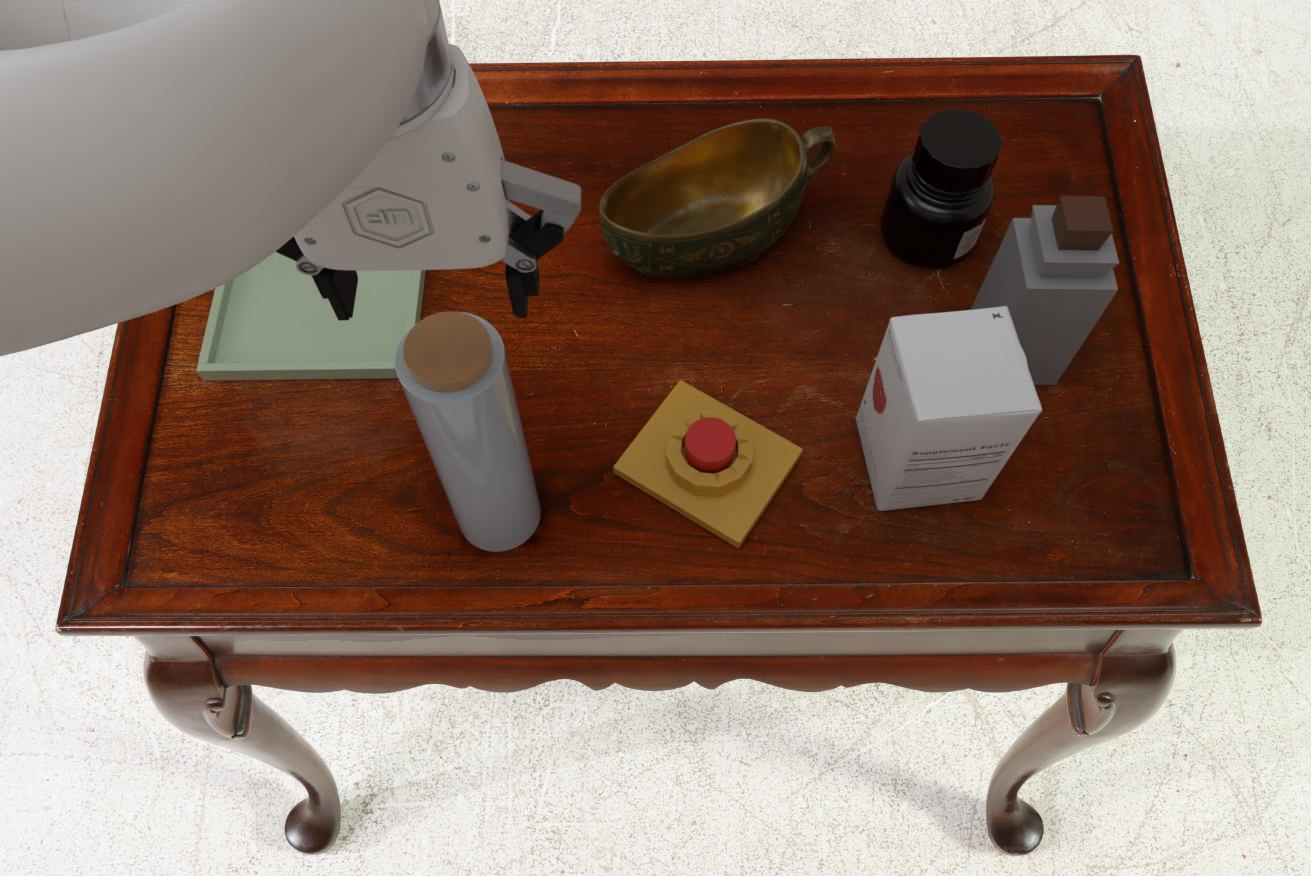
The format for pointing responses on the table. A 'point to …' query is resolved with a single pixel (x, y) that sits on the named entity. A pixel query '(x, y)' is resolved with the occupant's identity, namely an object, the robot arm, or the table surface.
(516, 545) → the grey cylinder
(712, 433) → the button
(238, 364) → the tray
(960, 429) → the white product box
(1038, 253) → the perfume bottle
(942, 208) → the ink bottle
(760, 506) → the block
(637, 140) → the table surface
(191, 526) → the table surface
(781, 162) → the cup
